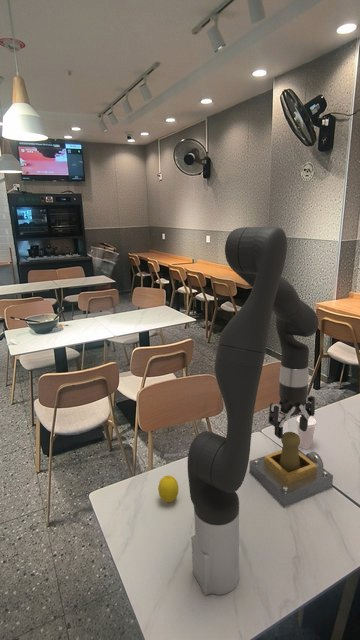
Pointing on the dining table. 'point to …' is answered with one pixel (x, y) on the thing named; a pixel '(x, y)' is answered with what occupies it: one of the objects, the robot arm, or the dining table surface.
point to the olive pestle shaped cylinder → (290, 452)
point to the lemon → (168, 488)
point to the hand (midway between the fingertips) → (291, 433)
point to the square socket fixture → (291, 477)
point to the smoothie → (306, 433)
